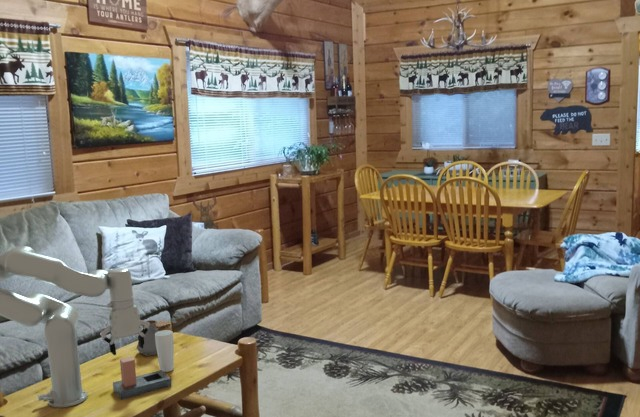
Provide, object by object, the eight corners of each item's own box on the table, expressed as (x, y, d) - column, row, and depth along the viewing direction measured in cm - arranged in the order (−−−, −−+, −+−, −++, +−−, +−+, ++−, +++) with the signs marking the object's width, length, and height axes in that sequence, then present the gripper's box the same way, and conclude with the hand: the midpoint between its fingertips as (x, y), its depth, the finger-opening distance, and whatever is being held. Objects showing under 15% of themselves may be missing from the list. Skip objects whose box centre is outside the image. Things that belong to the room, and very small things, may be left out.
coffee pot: (131, 353, 261) (128, 318, 259) (155, 345, 270) (152, 311, 268) (161, 364, 247) (157, 328, 245) (184, 355, 256) (182, 320, 254)
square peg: (125, 387, 219) (123, 362, 218) (122, 383, 223) (119, 359, 221) (136, 384, 221) (134, 359, 220) (133, 380, 225) (131, 356, 224)
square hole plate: (121, 400, 216) (120, 391, 215) (113, 390, 224) (112, 382, 224) (171, 386, 226) (170, 378, 225) (162, 377, 234) (161, 370, 234)
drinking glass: (171, 373, 237) (168, 336, 235) (154, 373, 238) (151, 335, 236) (178, 367, 244) (175, 330, 242) (162, 366, 245) (159, 329, 243)
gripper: (100, 311, 210) (105, 360, 213) (150, 300, 220) (155, 347, 222) (94, 306, 217) (100, 353, 219) (143, 296, 226) (148, 341, 228)
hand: (127, 350), depth 221 cm, fingers open, 9 cm apart
